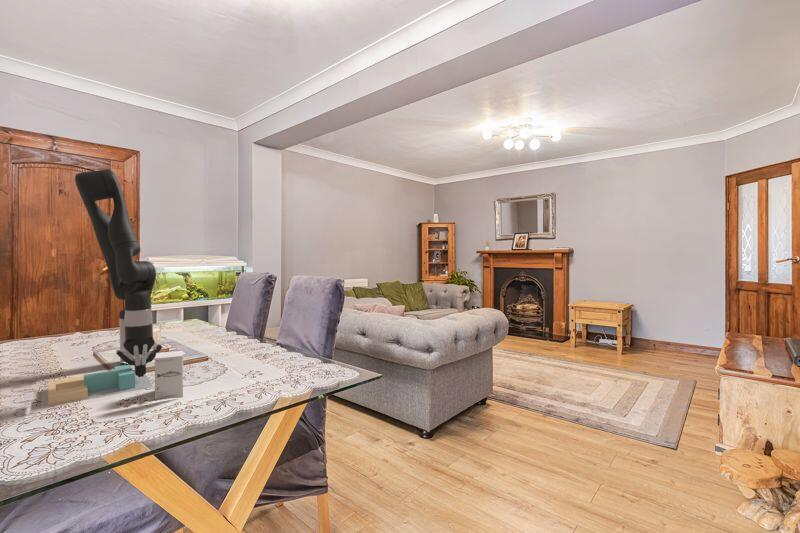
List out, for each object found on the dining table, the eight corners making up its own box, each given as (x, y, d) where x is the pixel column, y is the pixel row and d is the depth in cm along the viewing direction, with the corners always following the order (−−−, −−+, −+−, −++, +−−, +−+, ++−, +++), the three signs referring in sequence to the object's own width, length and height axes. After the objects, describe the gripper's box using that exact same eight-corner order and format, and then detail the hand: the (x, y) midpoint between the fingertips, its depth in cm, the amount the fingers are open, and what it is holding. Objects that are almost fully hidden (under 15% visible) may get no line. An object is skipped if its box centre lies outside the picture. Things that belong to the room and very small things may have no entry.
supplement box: (154, 401, 115) (153, 358, 114) (156, 393, 122) (155, 352, 121) (183, 397, 118) (182, 355, 118) (183, 389, 125) (183, 349, 124)
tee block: (129, 377, 132) (129, 364, 132) (135, 387, 123) (135, 373, 123) (83, 385, 124) (82, 371, 124) (86, 396, 115) (85, 381, 115)
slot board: (144, 375, 138) (143, 365, 138) (153, 390, 124) (153, 379, 124) (43, 392, 121) (42, 381, 121) (40, 411, 107) (40, 398, 107)
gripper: (159, 319, 136) (161, 369, 136) (112, 324, 127) (114, 377, 128) (164, 322, 130) (166, 374, 131) (115, 327, 121) (117, 383, 122)
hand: (140, 376), depth 129 cm, fingers closed
